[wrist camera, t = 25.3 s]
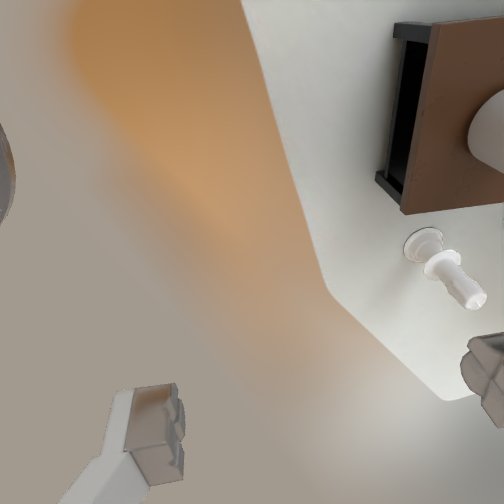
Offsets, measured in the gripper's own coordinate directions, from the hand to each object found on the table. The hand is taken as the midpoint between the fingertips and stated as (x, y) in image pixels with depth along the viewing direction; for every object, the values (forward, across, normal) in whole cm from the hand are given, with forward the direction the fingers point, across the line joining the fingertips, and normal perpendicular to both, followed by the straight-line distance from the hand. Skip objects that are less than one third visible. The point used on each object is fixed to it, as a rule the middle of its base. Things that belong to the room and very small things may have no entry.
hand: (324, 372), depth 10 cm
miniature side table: (+31, +22, -2) cm, 38 cm away
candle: (+31, +23, -20) cm, 44 cm away
